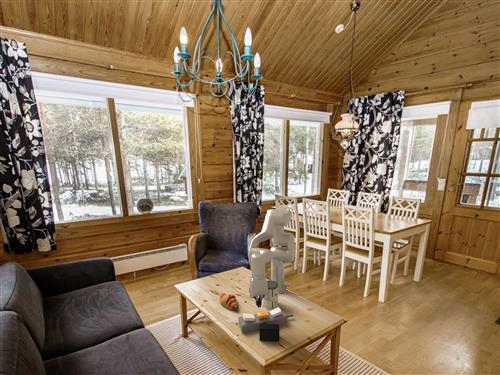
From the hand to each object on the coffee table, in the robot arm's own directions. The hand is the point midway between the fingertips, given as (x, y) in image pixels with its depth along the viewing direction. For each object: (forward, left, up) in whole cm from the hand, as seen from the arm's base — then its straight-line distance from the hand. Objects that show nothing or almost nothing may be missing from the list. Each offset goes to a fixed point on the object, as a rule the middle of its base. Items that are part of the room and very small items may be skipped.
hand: (258, 306), depth 138 cm
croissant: (+13, -25, -11) cm, 31 cm away
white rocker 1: (+6, +1, -5) cm, 8 cm away
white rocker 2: (-10, +1, -5) cm, 11 cm away
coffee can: (-13, -16, -11) cm, 24 cm away
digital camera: (-2, +12, -11) cm, 17 cm away
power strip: (-5, +1, -11) cm, 12 cm away
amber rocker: (-2, +1, -5) cm, 6 cm away
